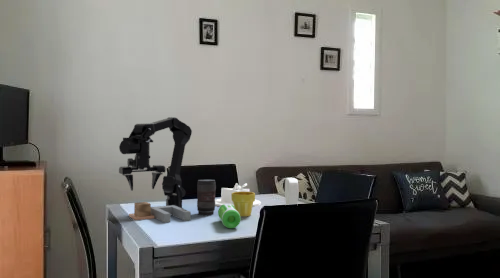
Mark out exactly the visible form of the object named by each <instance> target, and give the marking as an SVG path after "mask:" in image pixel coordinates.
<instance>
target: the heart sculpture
mask: <svg viewBox="0 0 500 278" xmlns="http://www.w3.org/2000/svg"><path fill="white" fill-rule="evenodd" d="M299 184H300V183H299V181H298V179H297V178H295V177H285V181H284V199H285V206H286V205H289V204H297V205H298V203H299V197H300V196H299V194H300V193H299V192H300V191H299V189H300V186H299Z"/></svg>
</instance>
